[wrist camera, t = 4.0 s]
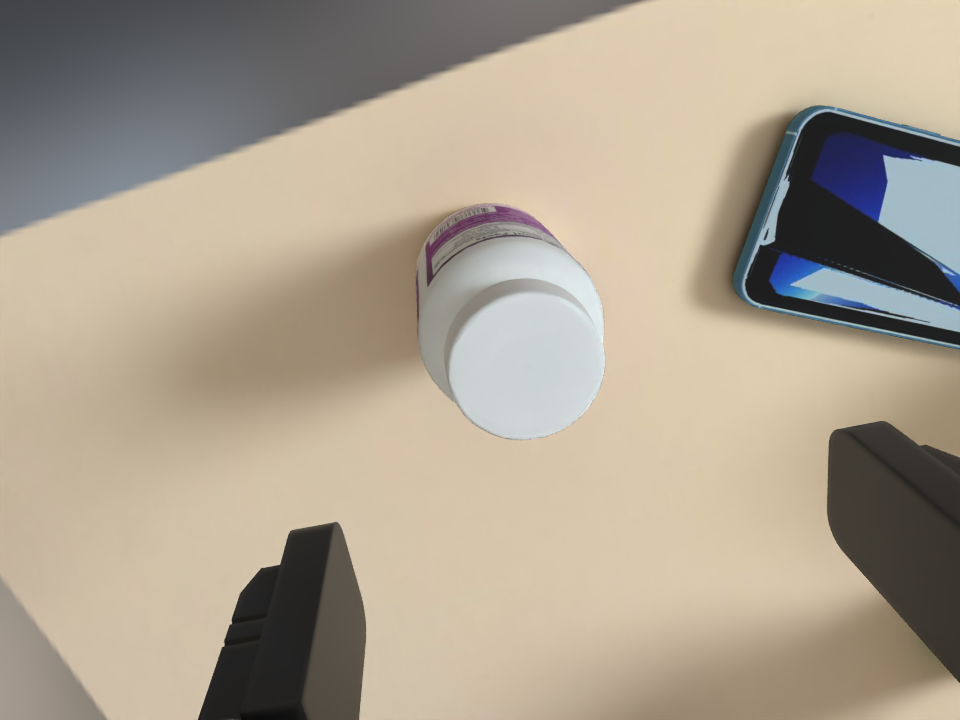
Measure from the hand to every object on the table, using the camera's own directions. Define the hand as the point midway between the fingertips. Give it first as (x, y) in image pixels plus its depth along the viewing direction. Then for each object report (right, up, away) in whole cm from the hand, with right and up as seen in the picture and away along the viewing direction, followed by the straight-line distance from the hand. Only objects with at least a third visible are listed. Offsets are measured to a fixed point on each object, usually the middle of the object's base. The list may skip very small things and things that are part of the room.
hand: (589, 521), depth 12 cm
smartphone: (+16, +7, +16) cm, 24 cm away
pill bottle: (-1, +6, +15) cm, 16 cm away
